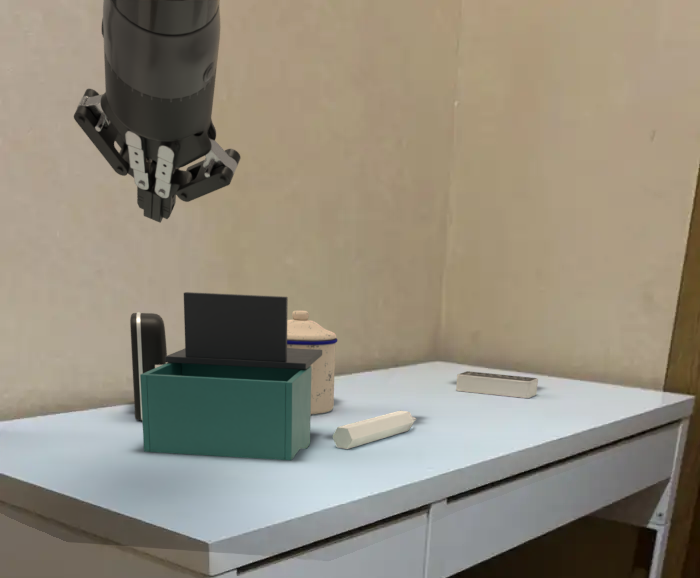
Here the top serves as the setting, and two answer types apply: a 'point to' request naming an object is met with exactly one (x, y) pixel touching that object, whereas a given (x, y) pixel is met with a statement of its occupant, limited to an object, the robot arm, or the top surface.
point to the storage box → (226, 410)
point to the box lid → (239, 332)
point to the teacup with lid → (323, 369)
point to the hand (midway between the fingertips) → (155, 211)
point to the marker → (372, 429)
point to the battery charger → (146, 350)
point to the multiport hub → (497, 384)
